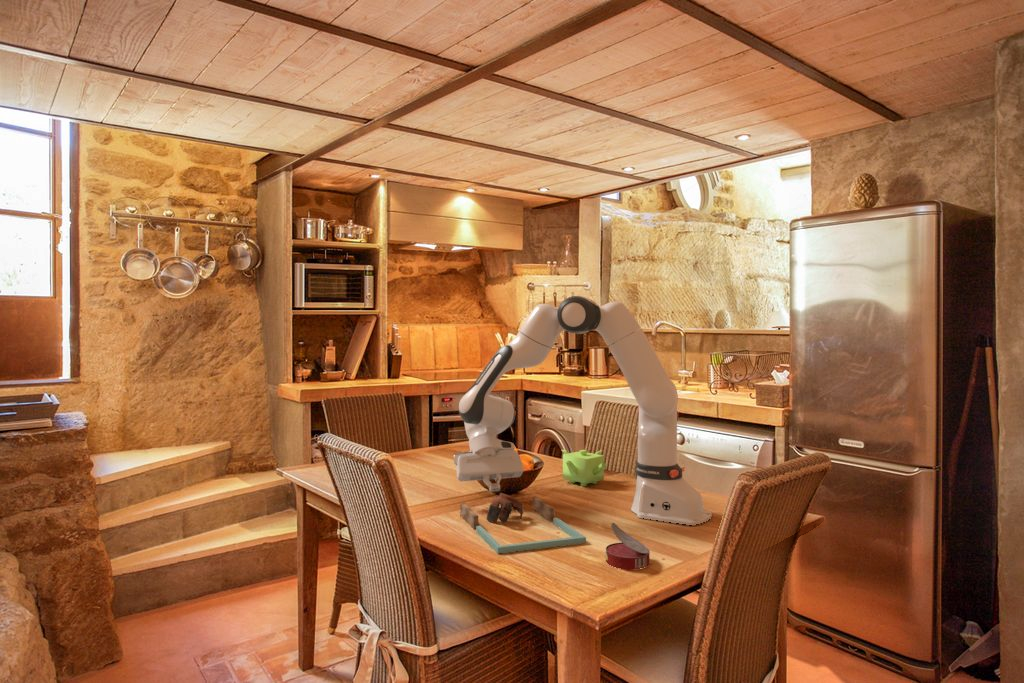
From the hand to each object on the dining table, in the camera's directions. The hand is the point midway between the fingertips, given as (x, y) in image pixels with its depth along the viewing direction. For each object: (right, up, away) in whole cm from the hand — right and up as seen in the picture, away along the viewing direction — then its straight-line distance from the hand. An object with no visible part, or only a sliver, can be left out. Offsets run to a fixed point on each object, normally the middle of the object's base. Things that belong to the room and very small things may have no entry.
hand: (495, 490), depth 192 cm
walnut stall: (+3, -6, -9) cm, 11 cm away
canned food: (+31, -7, -42) cm, 53 cm away
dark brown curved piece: (+3, -6, -11) cm, 13 cm away
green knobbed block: (+29, -5, +32) cm, 44 cm away
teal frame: (+9, -6, -25) cm, 28 cm away
